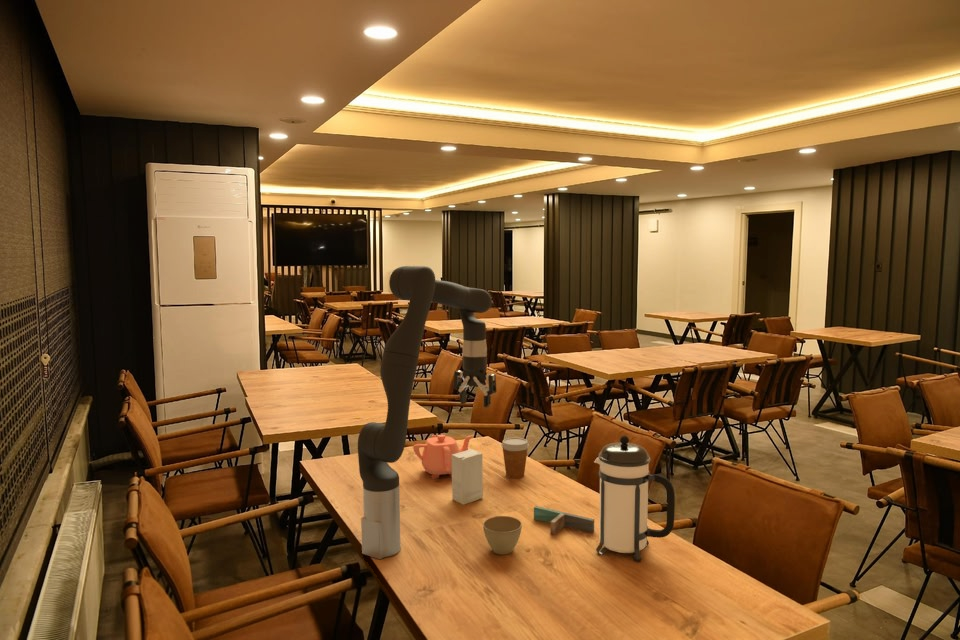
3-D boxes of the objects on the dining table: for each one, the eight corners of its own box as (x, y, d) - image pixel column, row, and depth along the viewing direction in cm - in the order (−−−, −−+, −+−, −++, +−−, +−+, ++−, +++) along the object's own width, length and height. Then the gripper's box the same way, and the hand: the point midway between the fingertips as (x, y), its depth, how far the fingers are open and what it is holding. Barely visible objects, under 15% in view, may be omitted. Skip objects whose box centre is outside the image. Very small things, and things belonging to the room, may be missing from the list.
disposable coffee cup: (496, 472, 222) (496, 439, 221) (520, 468, 226) (520, 435, 225) (509, 481, 214) (509, 446, 213) (534, 477, 218) (534, 442, 217)
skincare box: (472, 493, 203) (471, 448, 202) (484, 498, 199) (483, 452, 197) (450, 500, 198) (450, 453, 197) (462, 505, 193) (462, 458, 192)
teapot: (433, 462, 234) (432, 426, 232) (474, 469, 227) (474, 432, 225) (410, 476, 219) (410, 438, 218) (454, 484, 212) (454, 444, 211)
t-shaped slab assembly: (583, 542, 168) (583, 529, 168) (523, 527, 178) (523, 515, 177) (594, 531, 175) (594, 519, 174) (535, 517, 184) (535, 505, 184)
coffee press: (611, 568, 154) (613, 448, 151) (583, 540, 169) (584, 430, 166) (675, 559, 159) (678, 441, 155) (642, 532, 174) (644, 425, 171)
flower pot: (498, 538, 171) (498, 512, 170) (529, 548, 165) (529, 522, 164) (475, 551, 163) (474, 524, 163) (506, 563, 157) (506, 535, 156)
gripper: (448, 353, 198) (449, 405, 200) (488, 357, 191) (488, 410, 192) (462, 350, 204) (462, 400, 206) (500, 354, 197) (500, 405, 199)
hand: (475, 405), depth 199 cm, fingers open, 8 cm apart
